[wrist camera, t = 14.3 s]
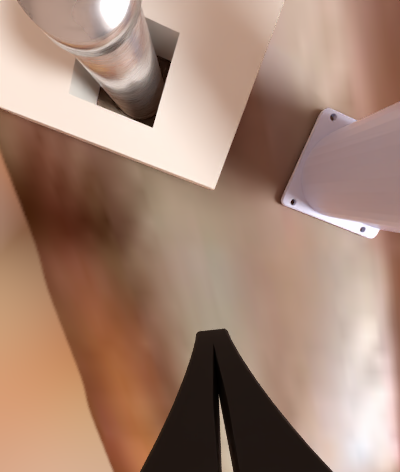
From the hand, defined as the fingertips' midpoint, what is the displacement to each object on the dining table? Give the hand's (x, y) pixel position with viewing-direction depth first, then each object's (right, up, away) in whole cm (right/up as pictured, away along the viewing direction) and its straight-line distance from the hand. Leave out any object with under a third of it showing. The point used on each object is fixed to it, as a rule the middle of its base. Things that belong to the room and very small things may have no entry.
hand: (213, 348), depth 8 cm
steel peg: (-5, +16, +6) cm, 18 cm away
